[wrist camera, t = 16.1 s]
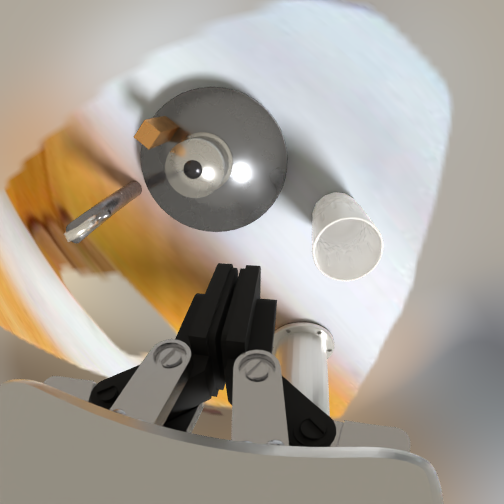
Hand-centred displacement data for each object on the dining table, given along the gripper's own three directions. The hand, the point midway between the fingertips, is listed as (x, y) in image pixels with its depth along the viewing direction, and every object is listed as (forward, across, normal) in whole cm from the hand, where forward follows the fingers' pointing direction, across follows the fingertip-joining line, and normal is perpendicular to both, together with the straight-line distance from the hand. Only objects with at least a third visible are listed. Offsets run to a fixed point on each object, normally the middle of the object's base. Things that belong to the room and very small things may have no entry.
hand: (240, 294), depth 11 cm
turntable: (+26, +8, 0) cm, 27 cm away
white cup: (+27, -8, +7) cm, 29 cm away
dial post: (+27, +21, +4) cm, 34 cm away
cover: (+24, +9, 0) cm, 26 cm away
